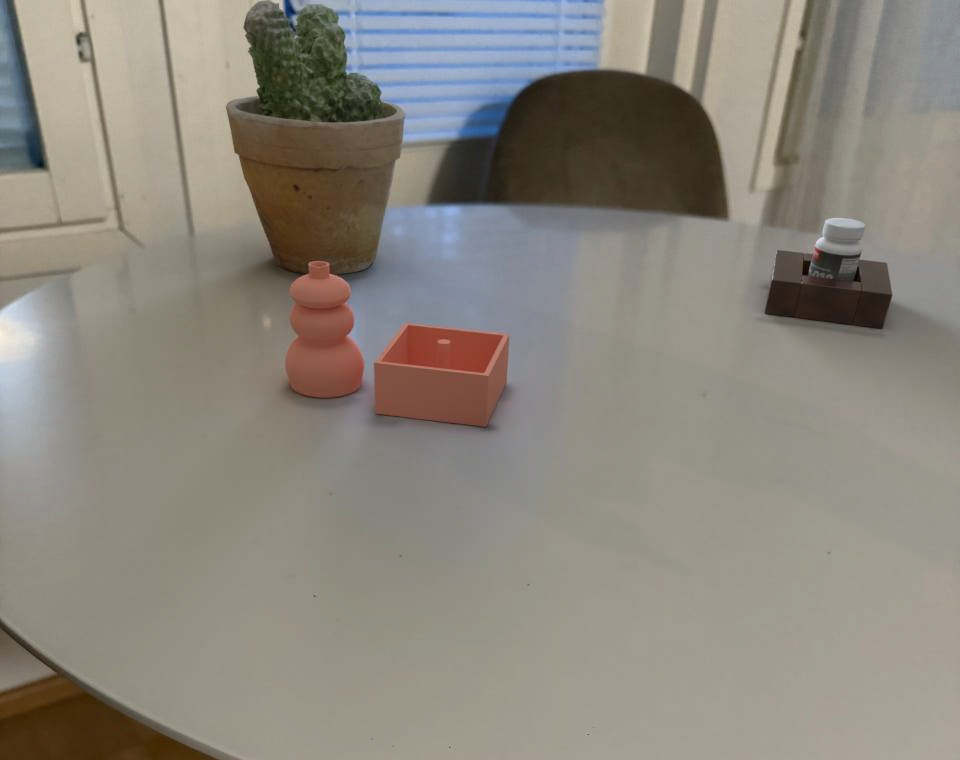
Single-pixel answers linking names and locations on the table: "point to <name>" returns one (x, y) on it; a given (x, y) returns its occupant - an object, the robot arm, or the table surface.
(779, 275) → the holder
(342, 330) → the pottery
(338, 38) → the potted plant
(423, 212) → the table surface
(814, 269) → the pill bottle
